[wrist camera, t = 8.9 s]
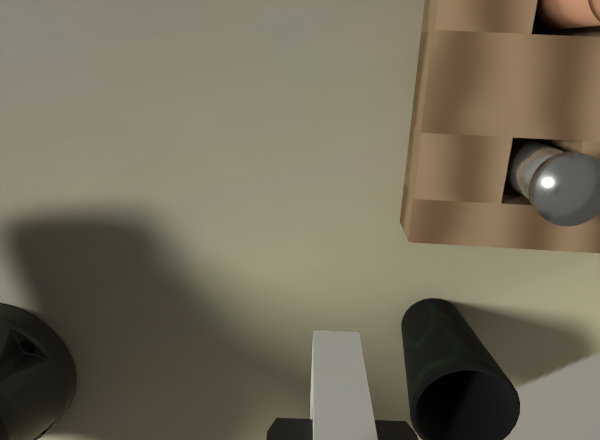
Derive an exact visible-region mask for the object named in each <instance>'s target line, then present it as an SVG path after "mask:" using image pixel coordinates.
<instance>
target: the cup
mask: <svg viewBox="0 0 600 440" xmlns="http://www.w3.org/2000/svg"><path fill="white" fill-rule="evenodd" d="M401 324H402V338H403V348H404V358H405V368H406V378H407V388H408V398H409V407H410V417H411V421H412V424H413V427H414V430H415V431H416V432H417V434H418V435H419V437H420V438H421V439H423V440H503V439H504V438H506V437H507V435H509V434H510V432H511V431H512V429H513V428H514V427H515V425H516V423H517V420H518V417H519V414H520V401H519V397H518V393H517V391H516V390H515V388H514V386H513V385H512V383H511V382H510V380H509V379H508V378H507V376H506V375H505V374H504V372H503V371H502V369H501V368H500V367H499V365H498V364H497V363H496V361H495V360H494V359H493V357H492V356H491V355H490V353H489V352H488V351H487V349H486V348H485V347H484V345H483V344H482V342H481V341H480V340H479V338H478V337H477V336H476V334H475V333H474V332H473V330H472V329H471V328H470V326H469V325H468V324H467V322H466V321H465V320H464V318H463V317H462V315H461V314H460V313H459V311H458V310H457V309H456V308H455V307H454V306H453V305H452V304H451V303H449V302H447V301H445V300H441V299H434V298H430V299H424V300H421V301H419V302H417V303H415V304H414V305H412V306H411V307H410V308H409V309H408V310H407V311H406V313H405V315H404V316H403V319H402V323H401Z"/></svg>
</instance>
